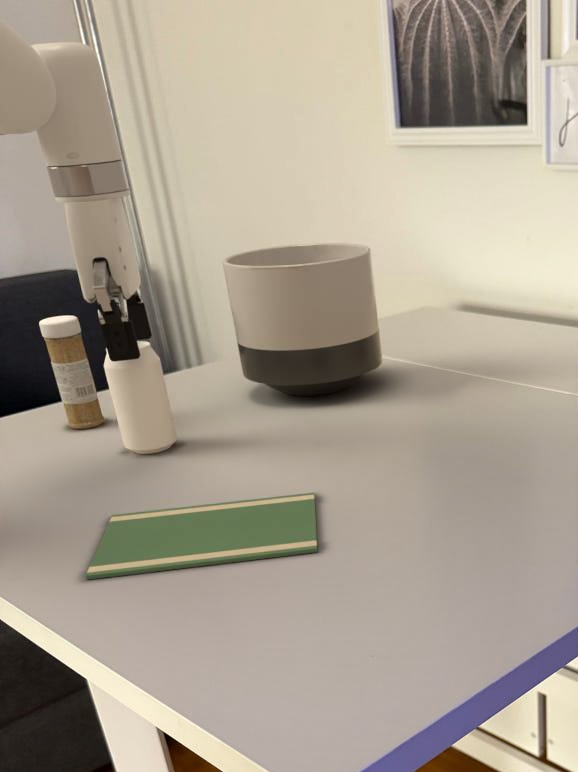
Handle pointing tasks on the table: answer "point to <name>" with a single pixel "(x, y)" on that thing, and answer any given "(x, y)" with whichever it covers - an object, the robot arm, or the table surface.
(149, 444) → the beverage can
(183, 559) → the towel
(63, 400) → the sprinkles bottle
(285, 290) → the planter
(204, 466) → the table surface
